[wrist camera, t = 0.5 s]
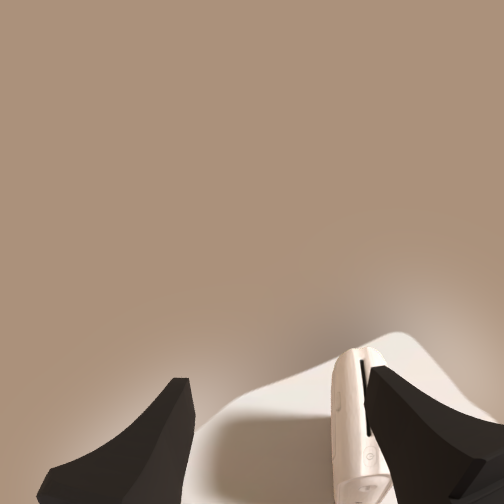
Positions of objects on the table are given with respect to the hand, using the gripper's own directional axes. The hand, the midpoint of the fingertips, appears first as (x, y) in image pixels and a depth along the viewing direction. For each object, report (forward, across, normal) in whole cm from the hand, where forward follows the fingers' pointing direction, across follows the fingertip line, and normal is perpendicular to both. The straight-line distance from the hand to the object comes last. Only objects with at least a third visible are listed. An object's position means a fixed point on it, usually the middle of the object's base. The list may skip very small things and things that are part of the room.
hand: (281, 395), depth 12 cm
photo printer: (+7, -8, +16) cm, 19 cm away
